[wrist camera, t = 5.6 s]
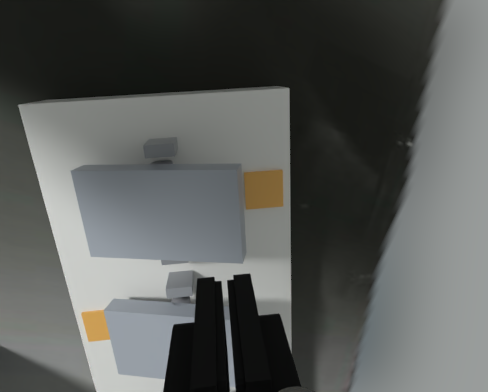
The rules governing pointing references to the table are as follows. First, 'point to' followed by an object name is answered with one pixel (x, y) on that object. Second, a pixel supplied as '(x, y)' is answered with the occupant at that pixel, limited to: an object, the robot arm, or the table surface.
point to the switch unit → (180, 152)
